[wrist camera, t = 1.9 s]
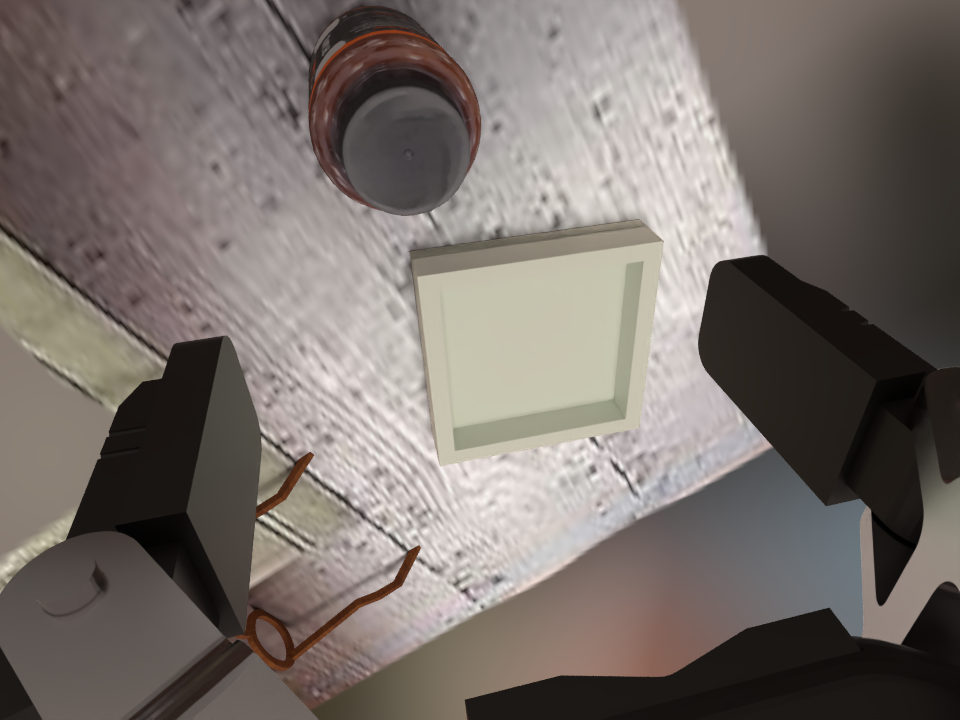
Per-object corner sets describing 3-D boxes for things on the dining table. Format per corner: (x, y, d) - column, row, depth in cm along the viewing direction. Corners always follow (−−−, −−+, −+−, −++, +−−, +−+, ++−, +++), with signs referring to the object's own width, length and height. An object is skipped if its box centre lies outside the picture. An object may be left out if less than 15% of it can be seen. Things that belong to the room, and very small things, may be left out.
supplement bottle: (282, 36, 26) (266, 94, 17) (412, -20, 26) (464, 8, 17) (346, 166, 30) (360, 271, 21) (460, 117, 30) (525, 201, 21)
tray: (432, 434, 41) (439, 465, 38) (409, 251, 33) (417, 276, 31) (620, 399, 42) (639, 428, 40) (639, 219, 35) (663, 241, 33)
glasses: (152, 545, 41) (135, 611, 37) (309, 445, 40) (309, 504, 36) (287, 623, 49) (285, 685, 45) (423, 543, 47) (434, 600, 43)
